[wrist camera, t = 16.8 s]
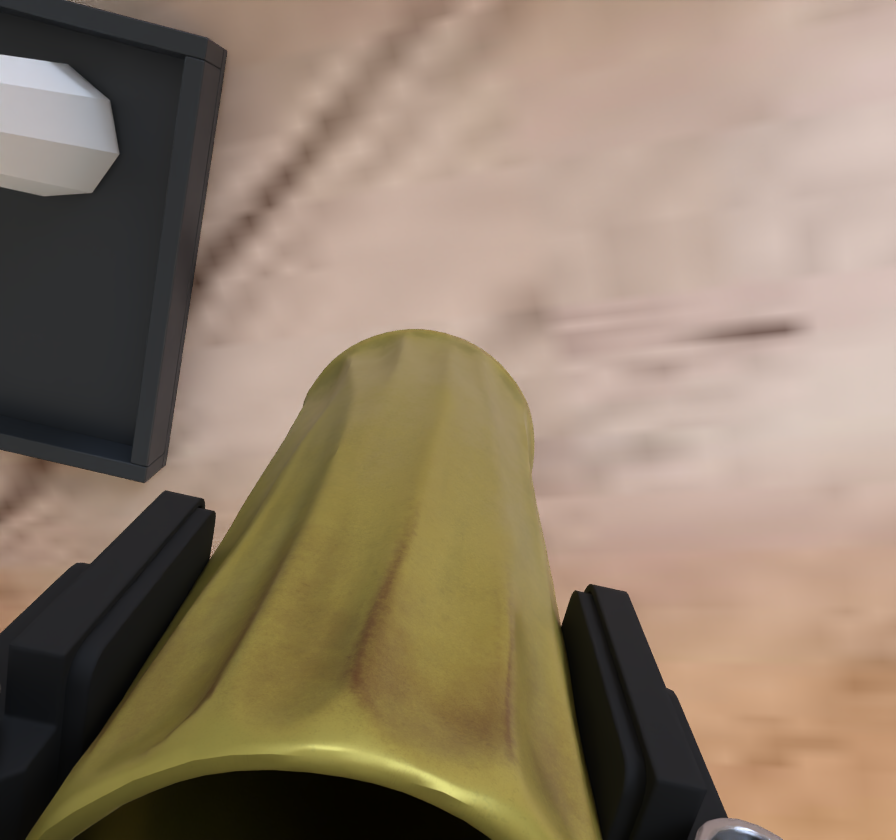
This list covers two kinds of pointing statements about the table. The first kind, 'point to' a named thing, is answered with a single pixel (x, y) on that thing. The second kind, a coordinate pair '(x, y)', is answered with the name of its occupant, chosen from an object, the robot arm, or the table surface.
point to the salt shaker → (52, 129)
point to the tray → (107, 246)
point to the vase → (361, 636)
